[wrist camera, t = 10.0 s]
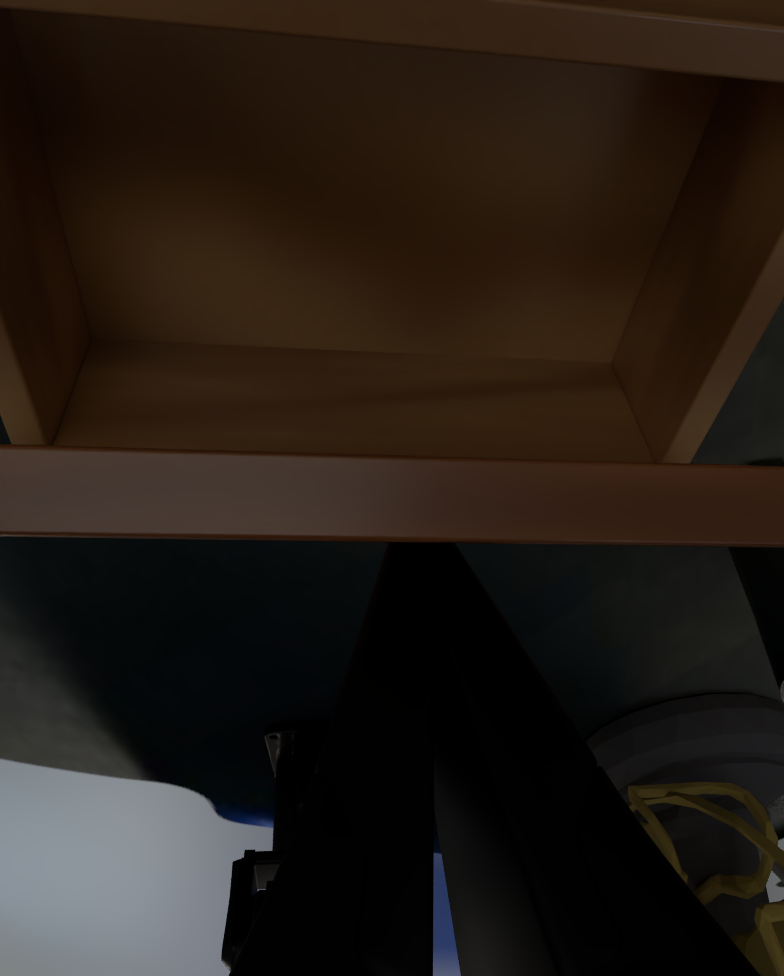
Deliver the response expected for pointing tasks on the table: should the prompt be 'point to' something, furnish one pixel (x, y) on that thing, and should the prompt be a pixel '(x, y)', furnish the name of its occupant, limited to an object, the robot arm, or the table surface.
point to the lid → (383, 498)
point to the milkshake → (765, 593)
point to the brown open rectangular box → (387, 223)
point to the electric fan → (710, 804)
